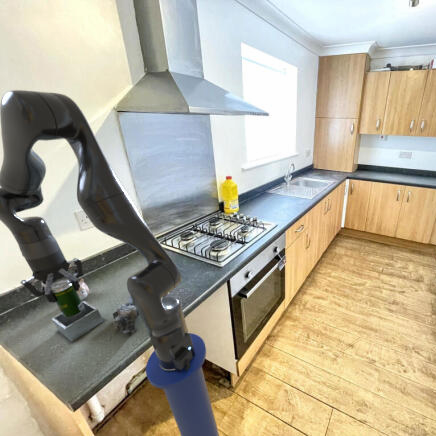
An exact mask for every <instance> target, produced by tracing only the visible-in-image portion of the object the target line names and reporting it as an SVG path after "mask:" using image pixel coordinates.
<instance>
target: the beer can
mask: <svg viewBox="0 0 436 436" xmlns="http://www.w3.org/2000/svg"><path fill="white" fill-rule="evenodd" d="M50 292H51V293H52V294H53V296H54V298H55V299H56V301H57V302H55V304H56V305H57V307H58V309H59V310H60V313H62V314H63V316H64V317H66V318H72V317H75V316H77V315H79V314H80V313H82V312H83V310H84V305H83V303H82V301H83V300H81V299H80V297H79V295H78V294H77V292H76V290H75V288H74V286H73V284H72V282H70V279H62V280H57V281H55V282H53V283H52V287H51V291H50Z"/></svg>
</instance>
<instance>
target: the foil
mask: <svg viewBox="0 0 436 436" xmlns="http://www.w3.org/2000/svg"><path fill="white" fill-rule="evenodd" d="M120 306H121V307H120ZM120 306H118V308H117V309H116V311H115V312H113V313H112V317H113V319H112V320H111V324H113V326H112V328H114V329H115V330H116V332H118V334H119V333H122V334H126V333H129V332H130V333H131V335H133V333H134V332H135V331H136V320H137V317H138V312H137V309H136V306H135V304H134V302H133V300H132V298H131V296H130V295H129V296H128V302H126V303H122V304H120Z"/></svg>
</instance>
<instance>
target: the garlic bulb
mask: <svg viewBox="0 0 436 436" xmlns="http://www.w3.org/2000/svg"><path fill="white" fill-rule="evenodd" d="M80 278H81V279H80V280H79V281H78V282H79V284H80V288H79V290H78V291H76V292H77V294H78V295H79V297H80V299H81V301H84V300H85V299H86V298H87V297H88V296H89V294H90V289H89V287H88V285H87V284H86V283H85V282H84V281H85V279H84V278H82V277H80Z"/></svg>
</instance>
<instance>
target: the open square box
mask: <svg viewBox="0 0 436 436" xmlns="http://www.w3.org/2000/svg"><path fill="white" fill-rule="evenodd" d="M81 301H82V303H83V305H84V310H83V312H82V313H80V314H79V315H77V316H75V317H72V318H66V317H64V316H63V314H62V312H60V313H59V314H57V315H55V316H54V317H51V321H52V322H53V323H54V325H55V327H56V329H57V331H58V332H60V334H62V335H63V336H64V337H65V338H67V339H68V340H69V341H71V342H75V341H76V340H78V339H79V338H80V337H82V336H84V335H85V334H87V333H88V332H89V331H91V330H93V329H95V328H96V327H97V326H99V325H100V324H102V323H103V322H104V320H103V317H102V315H101V313H100V310H99V308H97V307H95V306H93V305H92V304H91V303H89V302H88V301H86V300H81Z"/></svg>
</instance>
